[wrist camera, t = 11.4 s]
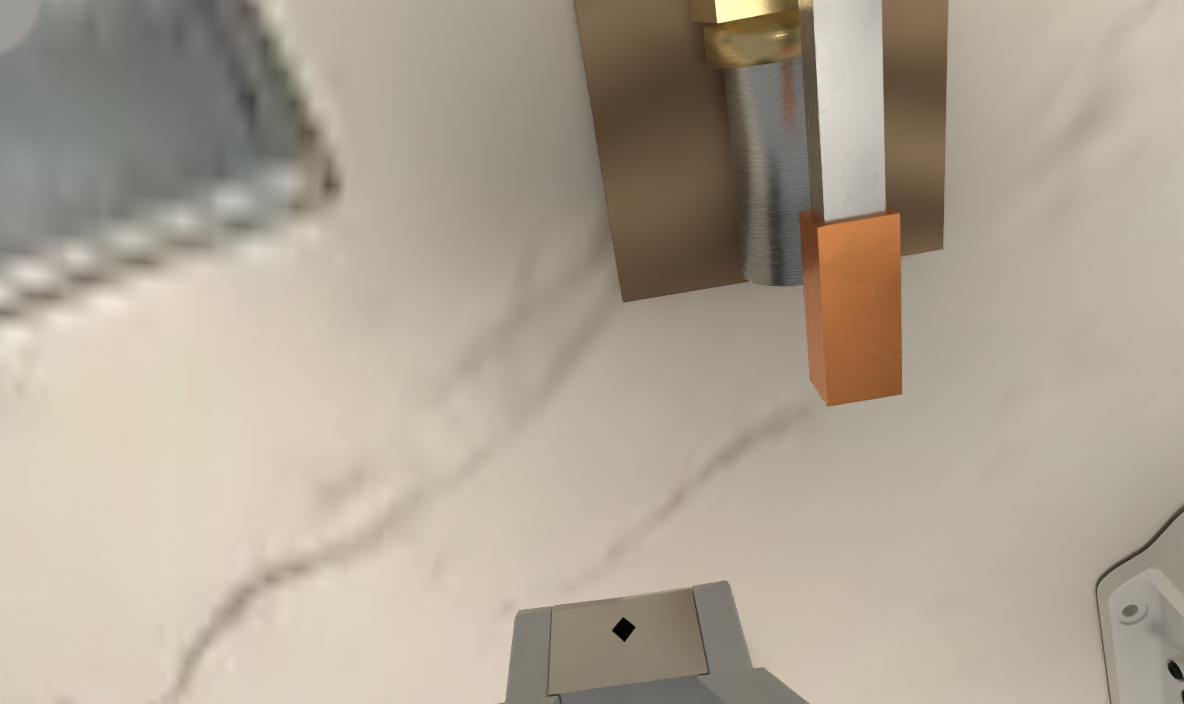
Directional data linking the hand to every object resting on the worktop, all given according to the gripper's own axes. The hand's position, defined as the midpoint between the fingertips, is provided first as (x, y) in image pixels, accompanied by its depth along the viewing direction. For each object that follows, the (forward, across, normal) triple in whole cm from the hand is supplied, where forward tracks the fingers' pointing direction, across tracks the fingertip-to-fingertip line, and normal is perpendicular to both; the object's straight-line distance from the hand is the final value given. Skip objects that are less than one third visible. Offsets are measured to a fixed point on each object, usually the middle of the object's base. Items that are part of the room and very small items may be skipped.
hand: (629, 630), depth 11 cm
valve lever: (+15, -8, -4) cm, 18 cm away
